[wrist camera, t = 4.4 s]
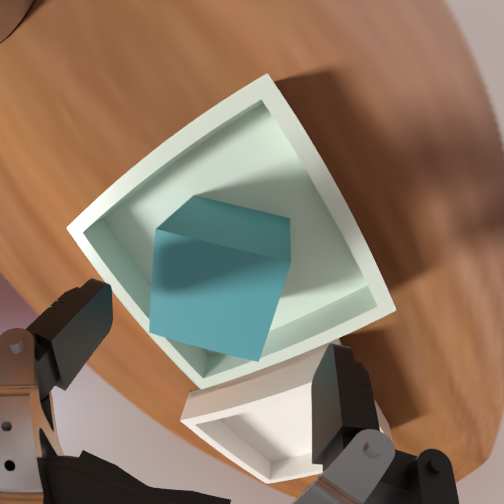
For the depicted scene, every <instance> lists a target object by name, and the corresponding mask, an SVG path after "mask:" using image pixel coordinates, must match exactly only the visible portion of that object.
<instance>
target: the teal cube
mask: <svg viewBox="0 0 504 504" xmlns="http://www.w3.org/2000/svg"><path fill="white" fill-rule="evenodd" d="M290 264H291V237H290V218H286V217H282V216H278V215H274V214H270V213H266V212H262V211H258V210H254V209H250V208H245V207H241V206H237V205H233V204H229V203H224V202H220V201H216V200H211V199H207V198H202V197H198V196H192V197H191V198H190V199H189V200H188V201H186V202H185V203H184V204H183V205H182V206H181V207H180V208H178V209H177V210H176V211H175V212H174V213H173V214H172V215H171V216H169V217H168V218H167V219H166V220H165V221H164V222H163V223H162V224H161V225H159V226H158V227H157V228H156V230H155V241H154V252H153V265H152V280H151V298H150V324H149V333H152V334H155V335H158V336H162V337H165V338H168V339H172V340H175V341H179V342H182V343H185V344H189V345H193V346H196V347H200V348H204V349H207V350H211V351H215V352H219V353H223V354H227V355H231V356H235V357H239V358H244V359H248V360H252V361H257V362H259V360H260V357H261V354H262V351H263V348H264V345H265V342H266V339H267V336H268V333H269V330H270V327H271V324H272V321H273V318H274V315H275V312H276V309H277V305H278V302H279V299H280V296H281V293H282V290H283V287H284V283H285V280H286V277H287V274H288V271H289V267H290Z"/></svg>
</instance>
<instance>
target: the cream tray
mask: <svg viewBox="0 0 504 504" xmlns="http://www.w3.org/2000/svg"><path fill="white" fill-rule="evenodd" d="M330 343H332V344H337V345H343V344H342V343H341V341H340V339H339V338H337V339H335V340H333V341H331V342H328V343H326V344H324V345H321V346H319V347H317V348H314V349H312V350H310V351H307V352H305V353H302V354H300V355H297V356H295V357H292V358H290V359H287V360H285V361H282V362H280V363H277V364H274V365H272V366H269V367H266V368H264V369H261V370H258V371H255V372H252V373H250V374H247V375H244V376H241V377H238V378H235V379H232V380H229V381H226V382H223V383H220V384H217V385H214V386H211V387H207V388H204V389H198V390H195V391H192V392H189V395H188V398H187V401H186V404H185V407H184V410H183V413H182V416H181V419H180V421H181V422H182V423H184V424H185V425H186V426H187V427H188V428H190V429H191V430H192V431H193V432H195V433H196V434H197V435H198V436H200V437H201V438H202V439H203V440H205V441H206V442H207V443H209V444H210V445H211V446H213V447H214V448H215V449H217V450H218V451H219V452H221V453H222V454H223V455H225V456H226V457H227V458H229V459H230V460H232V461H233V462H235V463H236V464H237V465H239V466H240V467H242V468H243V469H245V470H246V471H248V472H249V473H251V474H252V475H254V476H255V477H257V478H258V479H260V480H262V481H263V482H265V483H266V484H268V483H274V482H280V481H286V480H291V479H296V478H301V477H306V476H310V475H315V474H319V473H322V472H323V465H319V464H312V404H311V385H312V380H313V376H314V374H315V371H316V369H317V367H318V365H319V363H320V361H321V359H322V357H323V355H324V353H325V351H326V349H327V347H328V345H329V344H330ZM374 401H375V399H374ZM375 406H376V411H377V416H378V421H379V426H380V431H381V432H382V433H384V434H386V435H387V436H388V437H389V438H390V439H391V441H392V436H391V432H390V427H389V424H388V422H387V420H386V418H385V416H384V415H383V413H382V411H381V409H380V408H379V406H378V404H377V402H376V401H375ZM392 442H393V441H392Z"/></svg>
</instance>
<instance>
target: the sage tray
mask: <svg viewBox="0 0 504 504" xmlns="http://www.w3.org/2000/svg"><path fill="white" fill-rule="evenodd" d="M192 196H198V197H202V198H207V199H211V200H216V201H220V202H224V203H229V204H233V205H237V206H241V207H245V208H250V209H254V210H258V211H262V212H266V213H270V214H274V215H278V216H282V217H286V218H290V237H291V264H290V267H289V271H288V274H287V277H286V280H285V283H284V287H283V290H282V293H281V296H280V299H279V302H278V305H277V309H276V312H275V315H274V318H273V321H272V324H271V327H270V330H269V333H268V336H267V339H266V342H265V345H264V348H263V351H262V354H261V357H260V360H259V362H257V361H252V360H248V359H244V358H239V357H235V356H231V355H227V354H223V353H219V352H215V351H211V350H207V349H204V348H200V347H196V346H193V345H189V344H185V343H182V342H179V341H175V340H172V339H168V338H165V337H162V336H158V335H155V334H152V333H149V324H150V298H151V280H152V265H153V252H154V241H155V230H156V228H157V227H158V226H159V225H161V224H162V223H163V222H164V221H165V220H166V219H167V218H168V217H169V216H171V215H172V214H173V213H174V212H175V211H176V210H177V209H178V208H180V207H181V206H182V205H183V204H184V203H185V202H186V201H188V200H189V199H190V198H191V197H192ZM67 229H68V231H69V232H70V234H71V235H72V237H73V238H74V240H75V241H76V242H77V244H78V245H79V247H80V248H81V250H82V251H83V252H84V254H85V255H86V257H87V258H88V259H89V261H90V262H91V263H92V265H93V266H94V268H95V269H96V270H97V272H98V273H99V274H100V276H101V277H102V278H103V279H104V281H105V282H106V283H108V284H110V285H111V288H112V291H113V292H114V294H115V295H116V296H117V297H118V299H119V300H120V301H121V302H122V303H123V305H124V306H125V307H126V308H127V310H128V311H129V312H130V313H131V314H132V316H133V317H134V318H135V319H136V320H137V321H138V323H139V324H140V325H141V326H142V327H143V328H144V330H145V331H146V332H147V333H148V334H149V335H150V336H151V337H152V339H153V340H154V341H155V342H156V343H157V344H158V345H159V346H160V347H161V349H162V350H163V351H164V352H165V353H166V354H167V355H168V356H169V357H170V358H171V359H172V360H173V361H174V362H175V364H176V365H177V366H178V367H179V368H180V369H181V370H182V371H183V372H184V373H185V374H186V375H187V376H188V377H189V378H190V379H191V380H192V381H193V382H194V383H195V384H196V385H197V386H198V387H199V388H200V389H204V388H207V387H211V386H214V385H217V384H220V383H223V382H226V381H229V380H232V379H235V378H238V377H241V376H244V375H247V374H250V373H252V372H255V371H258V370H261V369H264V368H266V367H269V366H272V365H274V364H277V363H280V362H282V361H285V360H287V359H290V358H292V357H295V356H297V355H300V354H302V353H305V352H307V351H310V350H312V349H314V348H317V347H319V346H321V345H324V344H326V343H328V342H331V341H333V340H335V339H337V338H340V337H342V336H344V335H346V334H349V333H351V332H353V331H355V330H357V329H359V328H361V327H364V326H366V325H368V324H370V323H372V322H374V321H376V320H378V319H380V318H382V317H384V316H386V315H388V314H390V313H392V312H394V311H396V308H395V306H394V303H393V301H392V298H391V296H390V294H389V291H388V289H387V287H386V284H385V282H384V280H383V278H382V275H381V273H380V271H379V269H378V267H377V264H376V262H375V260H374V258H373V256H372V254H371V252H370V249H369V247H368V245H367V243H366V241H365V239H364V237H363V235H362V233H361V231H360V229H359V227H358V225H357V223H356V221H355V219H354V217H353V215H352V213H351V211H350V209H349V207H348V205H347V203H346V202H345V200H344V198H343V196H342V194H341V192H340V190H339V189H338V187H337V185H336V183H335V181H334V179H333V178H332V176H331V174H330V172H329V171H328V169H327V167H326V165H325V163H324V162H323V160H322V158H321V157H320V155H319V153H318V151H317V150H316V148H315V146H314V145H313V143H312V141H311V140H310V138H309V136H308V135H307V133H306V131H305V130H304V128H303V127H302V125H301V123H300V122H299V120H298V119H297V117H296V115H295V114H294V112H293V111H292V109H291V108H290V106H289V105H288V103H287V102H286V100H285V99H284V97H283V95H282V94H281V92H280V91H279V90H278V88H277V87H276V85H275V84H274V82H273V81H272V79H271V78H270V76H269V75H268V73H267V74H265V75H264V76H262V77H260V78H259V79H257V80H255V81H254V82H252V83H250V84H249V85H247V86H245V87H244V88H242V89H240V90H239V91H237V92H236V93H234V94H232V95H231V96H229V97H228V98H226V99H225V100H223V101H222V102H220V103H219V104H217V105H216V106H214V107H213V108H211V109H210V110H208V111H207V112H205V113H204V114H202V115H201V116H199V117H198V118H197V119H195V120H194V121H192V122H191V123H190V124H188V125H187V126H185V127H184V128H183V129H181V130H180V131H179V132H177V133H176V134H174V135H173V136H172V137H170V138H169V139H168V140H167V141H165V142H164V143H163V144H161V145H160V146H159V147H157V148H156V149H155V150H154V151H152V152H151V153H150V154H149V155H147V156H146V157H145V158H144V159H142V160H141V161H140V162H139V163H137V164H136V165H135V166H134V167H133V168H131V169H130V170H129V171H128V172H127V173H125V174H124V175H123V176H122V177H121V178H120V179H119V180H117V181H116V182H115V183H114V184H113V185H112V186H111V187H109V188H108V189H107V190H106V191H105V192H104V193H103V194H102V195H101V196H99V197H98V198H97V199H96V200H95V201H94V202H93V203H92V204H91V205H90V206H89V207H88V208H87V209H86V210H84V211H83V212H82V213H81V214H80V215H79V216H78V217H77V218H76V219H75V220H74V221H73V222H72V223H71V224H70V225H69V226H68V227H67Z"/></svg>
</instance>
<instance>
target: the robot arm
mask: <svg viewBox="0 0 504 504" xmlns="http://www.w3.org/2000/svg"><path fill="white" fill-rule="evenodd" d="M32 2H33V0H0V42H1V41H3V40H4V39H5V38H6V37H7V36H8V35H9V34H10V33H11V32H12V31H13V30H14V29H15V27H16V26H17V25H18V24H19V22H20V21H21V20H22V18H23V17H24V15H25V14H26V12H27V11H28V9H29V8H30V6H31V4H32ZM112 321H113V310H112V288H111V285H110V284H108V283H105V282H102V281H99V280H96V279H93V278H92V279H90V280H88V281H87V282H86V283H85V284H84V285H83V286H82V287H81V288H79V287H76V288H74V289H71V290H69V291H67V292H65V293H64V294H63V295H62V296H61V297H59V298H58V299H57V302H56V301H55V302H54V303H53V304H52V305H51V306H50V308H47V309H46V310H45V311H44V312H43V313H42V314H41V315H40V316H39V317H38V318H37V319H36V320H35V321H34V322H33V323H32V324H31V325H30V326H29V327H27V329H22V328H14V329H10V330H7V331H5V332H4V333H3V334H1V335H0V504H230V502H231V500H229V499H224V498H220V497H215V496H211V495H206V494H202V493H199V492H194V491H185V490H171V489H160V488H153V487H149V486H147V485H145V484H144V483H142V482H140V481H139V480H137V479H136V478H134V477H133V476H131V475H130V474H128V473H126V472H125V471H124V470H122V469H121V468H119V467H118V466H116V465H114V464H112V463H110V462H108V461H105V460H103V459H101V458H99V457H96V456H94V455H92V454H90V453H88V452H86V451H84V450H83V451H82V453H81V455H80V456H79V457H73V456H64V454H63V451H62V448H61V445H60V442H59V439H58V435H57V429H56V422H55V415H54V409H53V399H52V393H51V390H52V389H53V387H54V386H57V387H59V388H61V389H63V390H66V389H67V388H68V386H69V385H70V384H71V382H72V381H73V379H74V378H75V377H76V375H77V374H78V373H79V371H80V370H81V368H82V367H83V366H84V364H85V363H86V362H87V360H88V359H89V358H90V356H91V355H92V354H93V352H94V351H95V350H96V348H97V347H98V346H99V344H100V343H101V342H102V340H103V339H104V338H105V337H106V335H107V334H108V333H109V331H110V329H111V326H112ZM311 404H312V464H319V465H323V472H322V473H321V474H320V475H319V477H318V478H317V479H316V480H315V481H314V482H313V483H312V484H311V485H310V486H309V487H308V488H307V489H306V490H305V491H304V492H303V493H302V494H301V495H300V496H299V497H298V498H297V499H295V500H294V501H293V502H292V503H291V504H459V500H458V494H457V489H456V484H455V479H454V474H453V469H452V465H451V462H450V460H449V458H448V457H447V456H446V455H445V454H444V453H443V452H441V451H439V450H436V449H428V450H425V451H423V452H422V453H421V454H420V455H419V456H418V457H417V456H414V455H411V454H408V453H404V452H401V451H398V450H396V449H395V447H394V444H393V442H392V441H391V439H390V438H389V437H388V436H387V435H386V434H384V433H382V432H381V431H380V426H379V421H378V416H377V411H376V406H375V401H374V397H373V392H372V388H371V383H370V378H369V374H368V372H367V371H366V370H365V368H364V367H363V365H362V364H361V363H357V362H354V357H353V352H352V349H351V347H348V346H343V345H337V344H332V343H330V344H329V345H328V347H327V349H326V351H325V353H324V355H323V357H322V359H321V361H320V363H319V365H318V367H317V369H316V371H315V374H314V376H313V380H312V385H311Z"/></svg>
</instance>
